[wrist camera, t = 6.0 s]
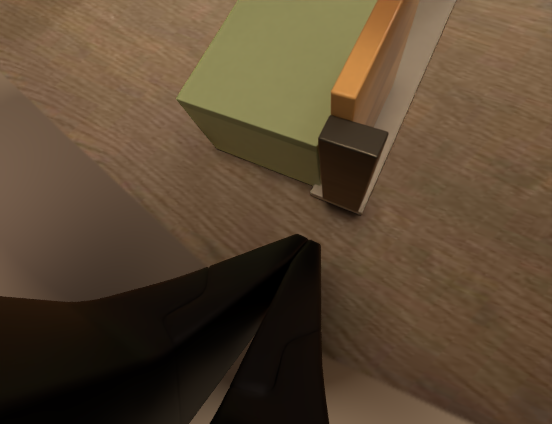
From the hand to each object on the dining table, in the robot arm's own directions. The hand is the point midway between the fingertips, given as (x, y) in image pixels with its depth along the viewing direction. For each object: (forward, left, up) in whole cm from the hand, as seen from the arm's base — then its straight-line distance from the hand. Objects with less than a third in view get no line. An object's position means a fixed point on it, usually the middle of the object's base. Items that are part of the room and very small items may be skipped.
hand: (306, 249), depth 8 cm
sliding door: (+6, +5, -6) cm, 10 cm away
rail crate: (+7, +11, -7) cm, 15 cm away
